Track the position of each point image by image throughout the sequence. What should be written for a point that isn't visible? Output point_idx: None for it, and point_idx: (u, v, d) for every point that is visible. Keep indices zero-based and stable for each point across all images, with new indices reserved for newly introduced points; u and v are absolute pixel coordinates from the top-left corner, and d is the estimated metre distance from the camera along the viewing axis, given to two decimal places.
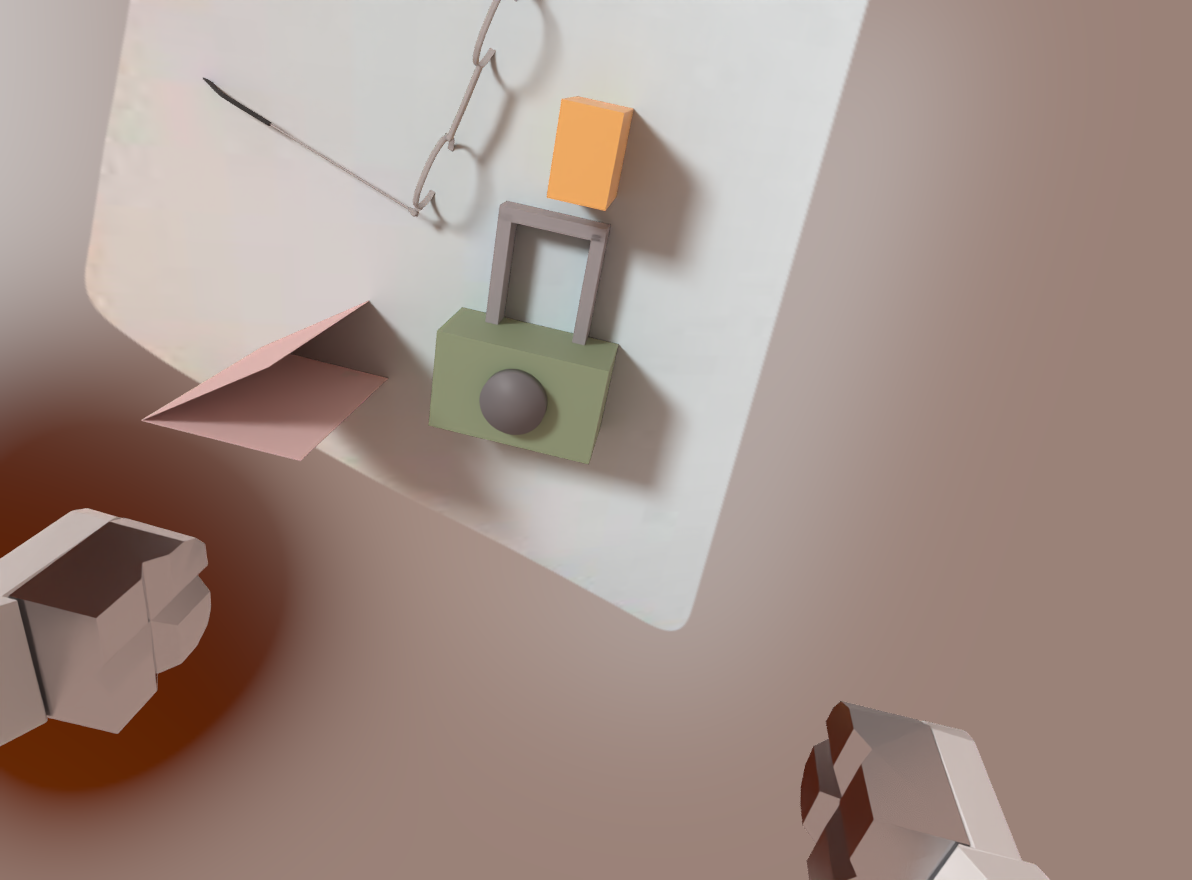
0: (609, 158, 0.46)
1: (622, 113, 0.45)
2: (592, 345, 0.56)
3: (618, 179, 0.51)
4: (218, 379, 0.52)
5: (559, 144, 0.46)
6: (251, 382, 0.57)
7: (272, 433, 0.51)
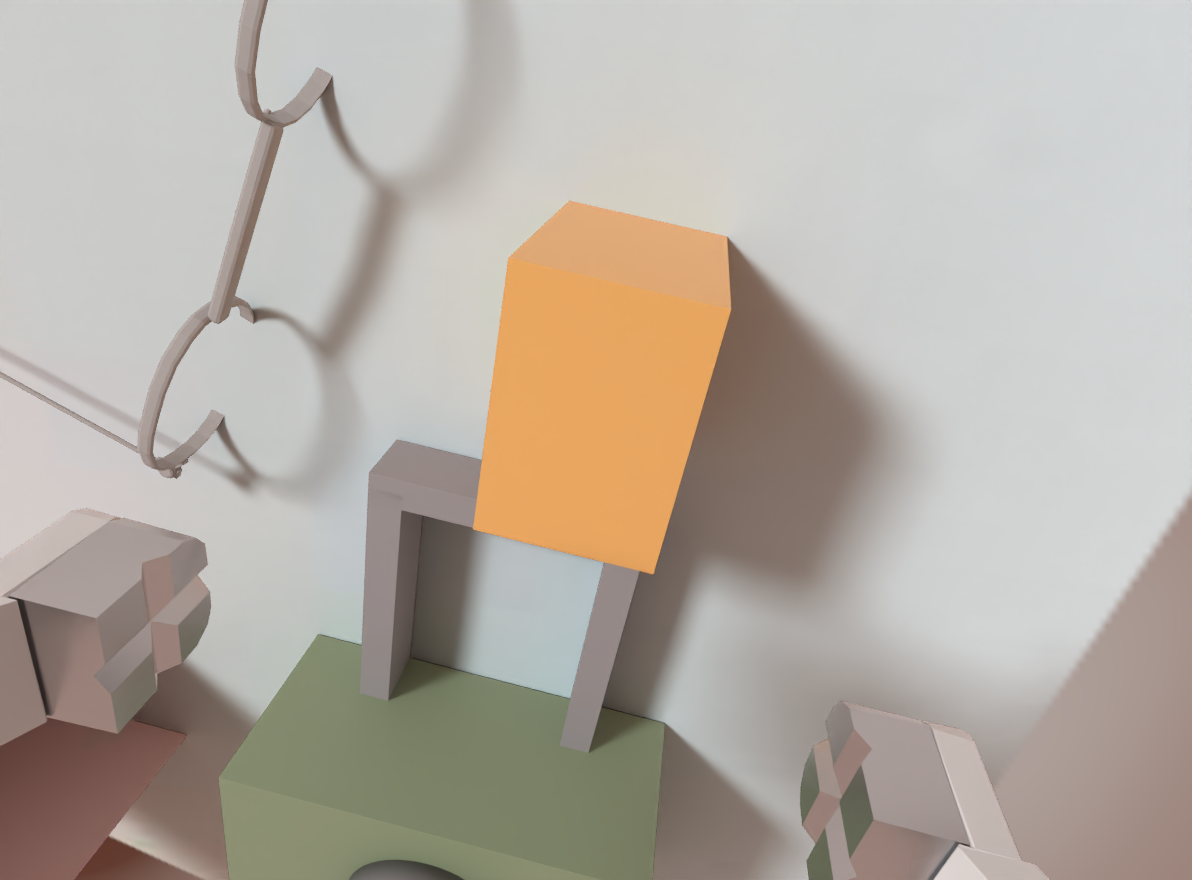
0: (672, 442, 0.14)
1: (724, 310, 0.13)
2: (606, 747, 0.24)
3: None
4: None
5: (506, 394, 0.14)
6: None
7: None
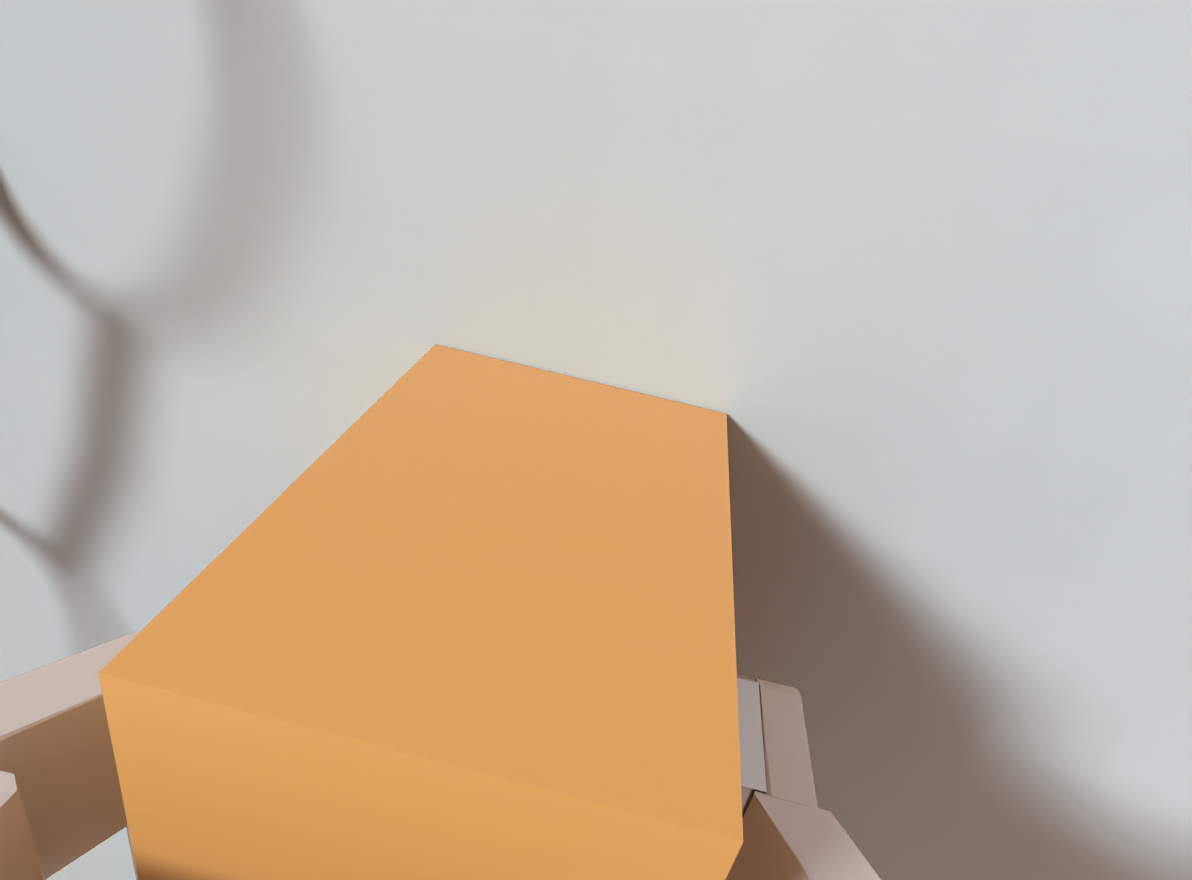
0: None
1: (723, 838, 0.04)
2: None
3: None
4: None
5: None
6: None
7: None
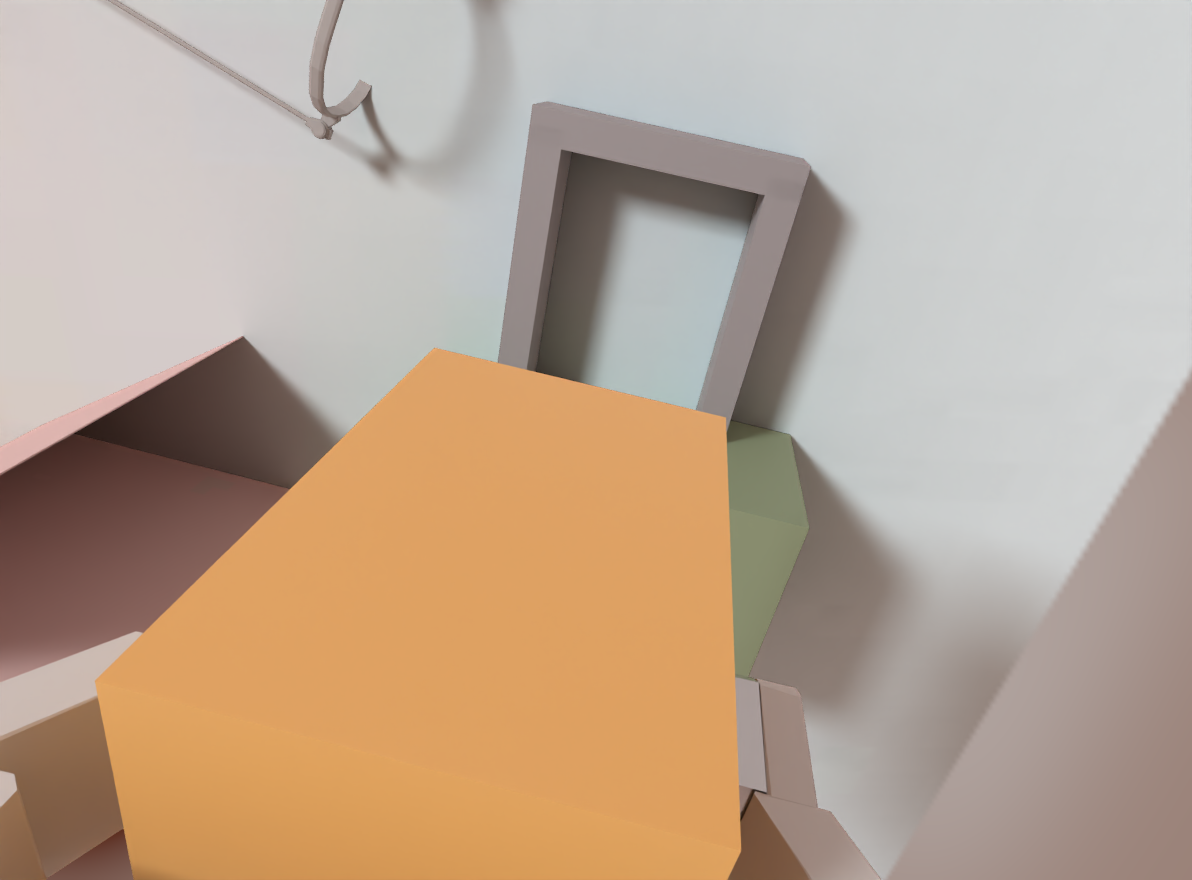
0: None
1: (720, 847, 0.04)
2: (739, 442, 0.25)
3: None
4: None
5: None
6: None
7: None
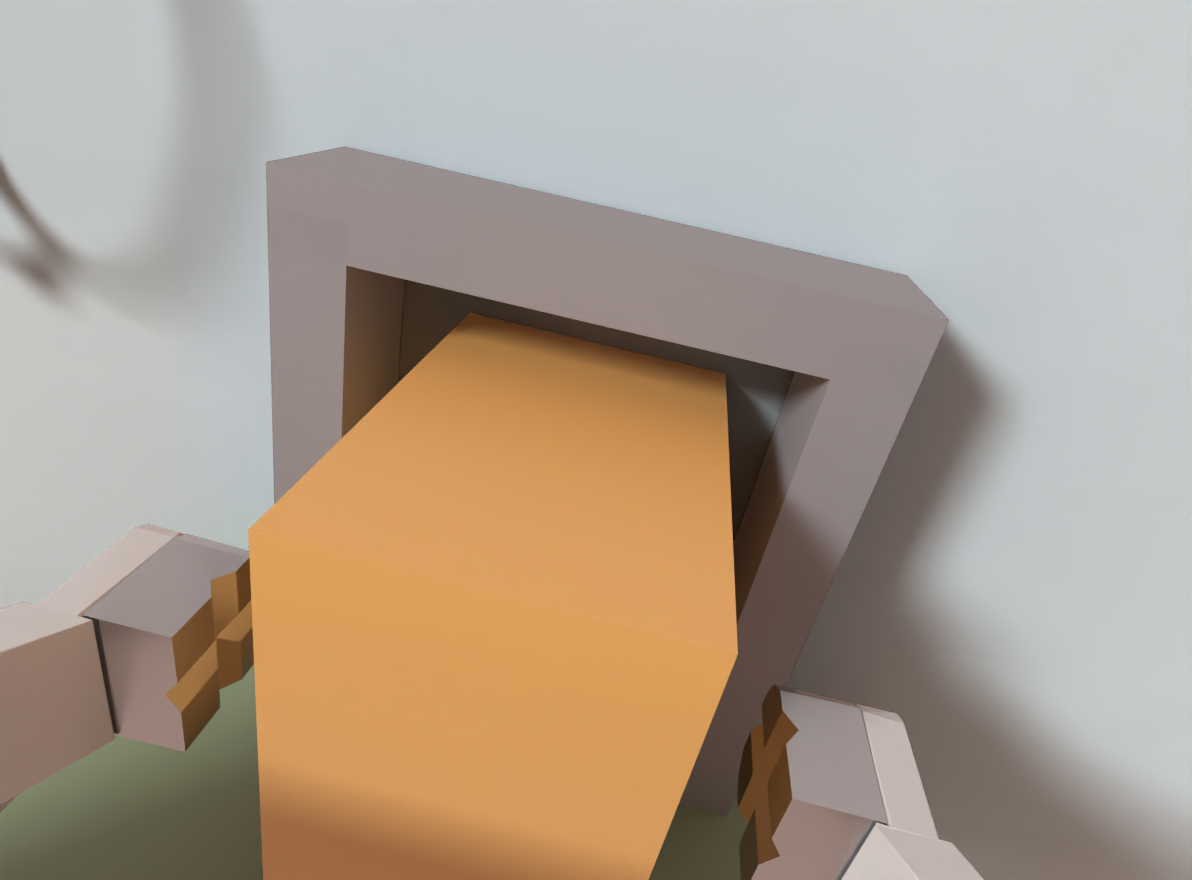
0: (617, 853, 0.07)
1: (722, 653, 0.06)
2: None
3: None
4: None
5: (287, 755, 0.07)
6: None
7: None
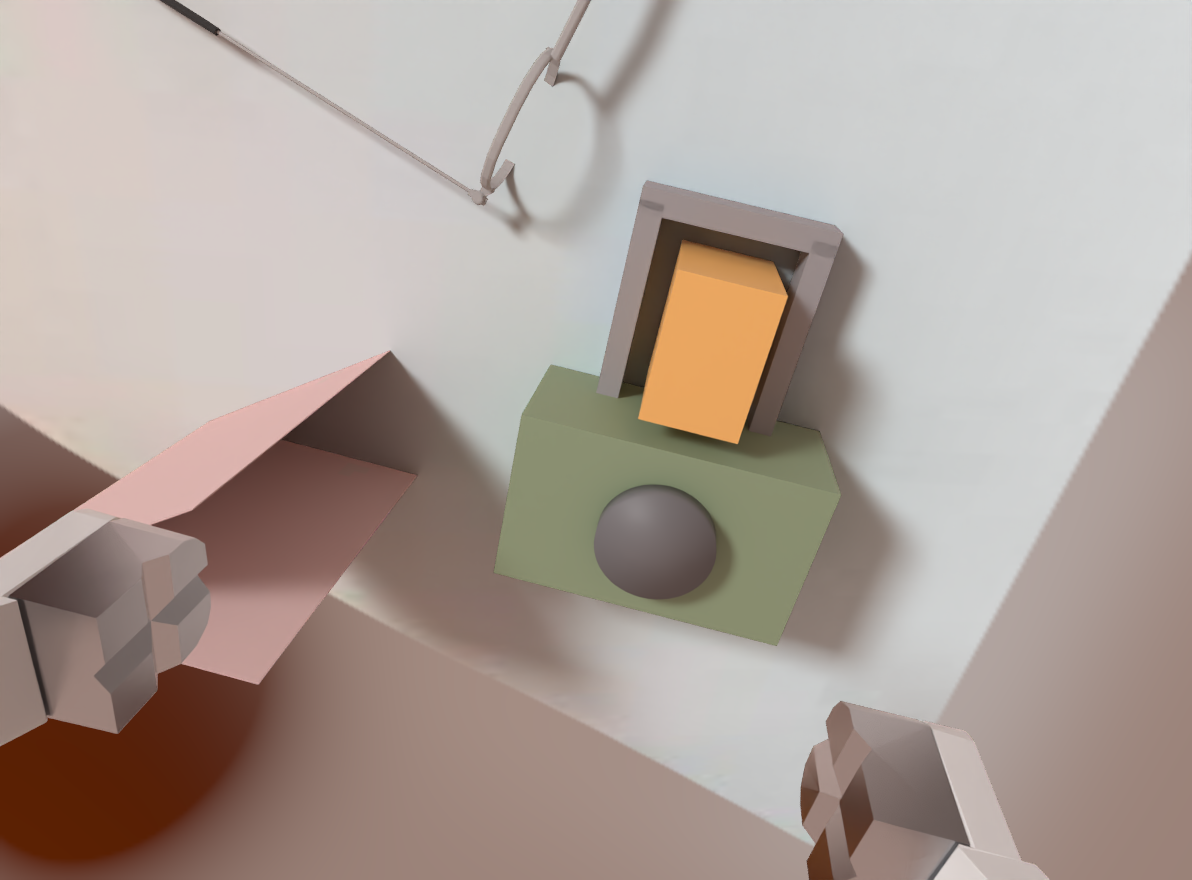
0: (753, 366, 0.27)
1: (784, 297, 0.25)
2: (782, 435, 0.32)
3: None
4: (110, 503, 0.28)
5: (667, 340, 0.27)
6: None
7: None
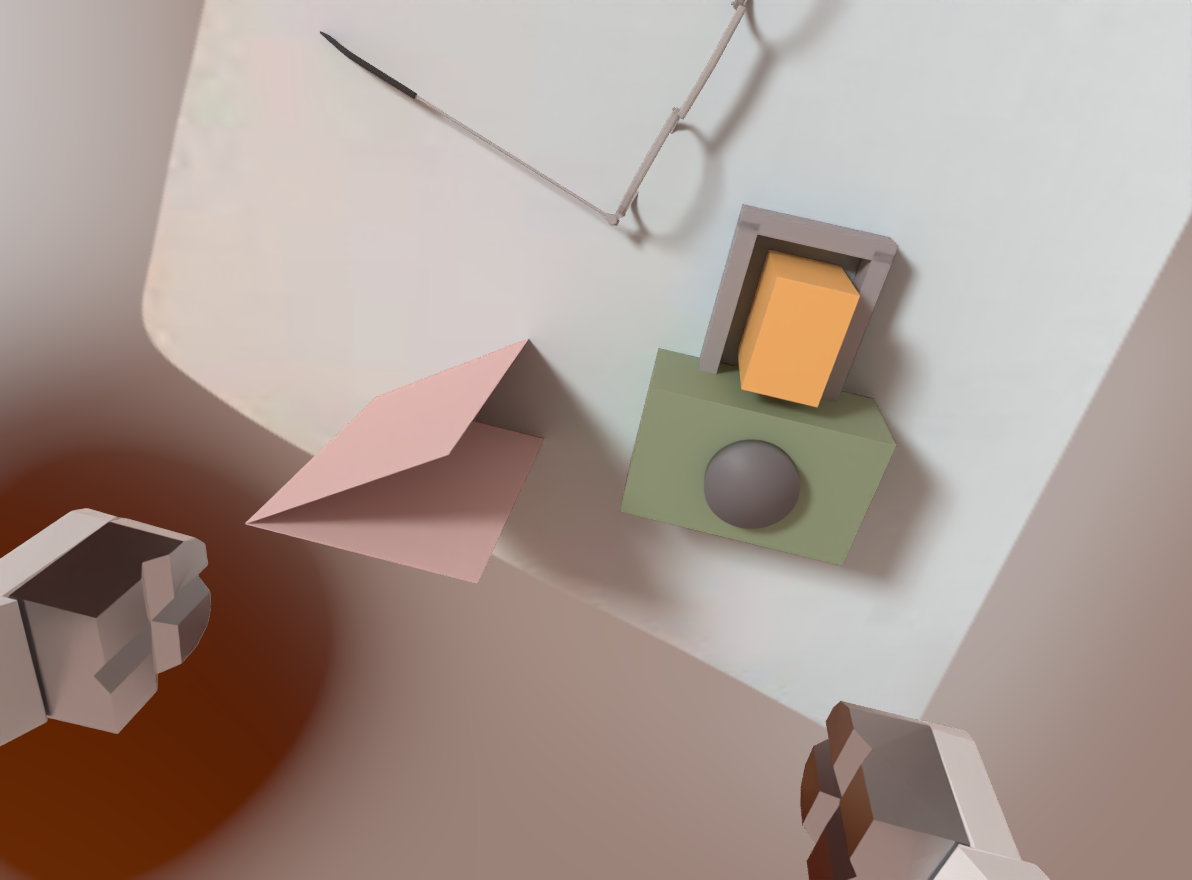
0: (832, 348, 0.35)
1: (857, 296, 0.34)
2: (845, 402, 0.41)
3: None
4: (345, 457, 0.37)
5: (766, 329, 0.35)
6: None
7: (427, 536, 0.36)
